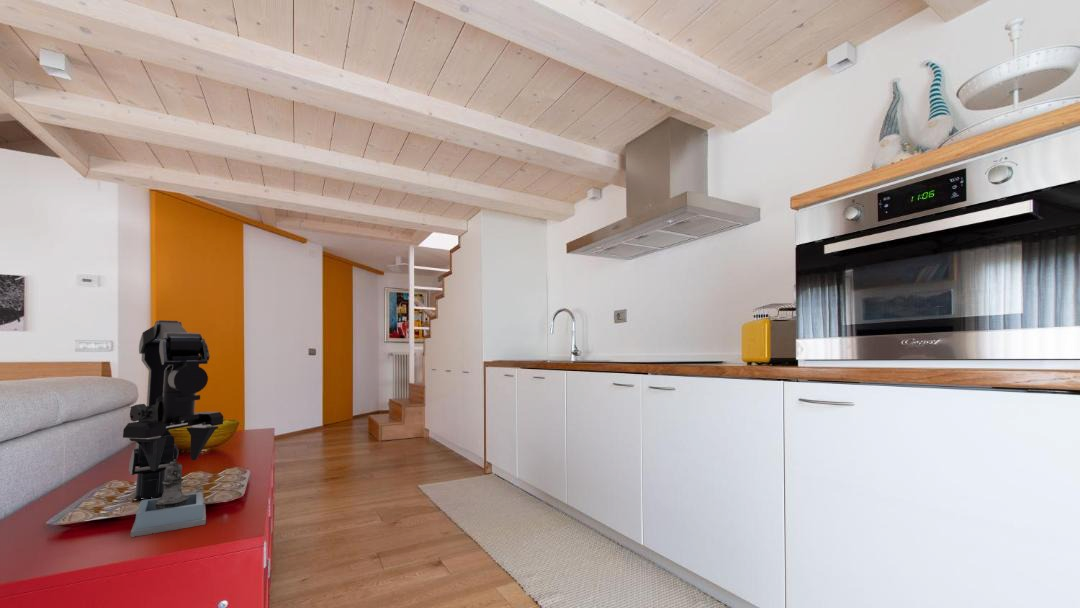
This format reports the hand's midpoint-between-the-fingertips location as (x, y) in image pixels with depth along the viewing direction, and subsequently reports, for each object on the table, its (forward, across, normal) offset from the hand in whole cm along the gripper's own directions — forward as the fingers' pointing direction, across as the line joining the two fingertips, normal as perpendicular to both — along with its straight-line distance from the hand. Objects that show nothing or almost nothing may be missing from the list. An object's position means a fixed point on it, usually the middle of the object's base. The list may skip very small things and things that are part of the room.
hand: (174, 465), depth 102 cm
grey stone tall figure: (+11, 0, 0) cm, 11 cm away
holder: (+12, 0, 0) cm, 12 cm away
